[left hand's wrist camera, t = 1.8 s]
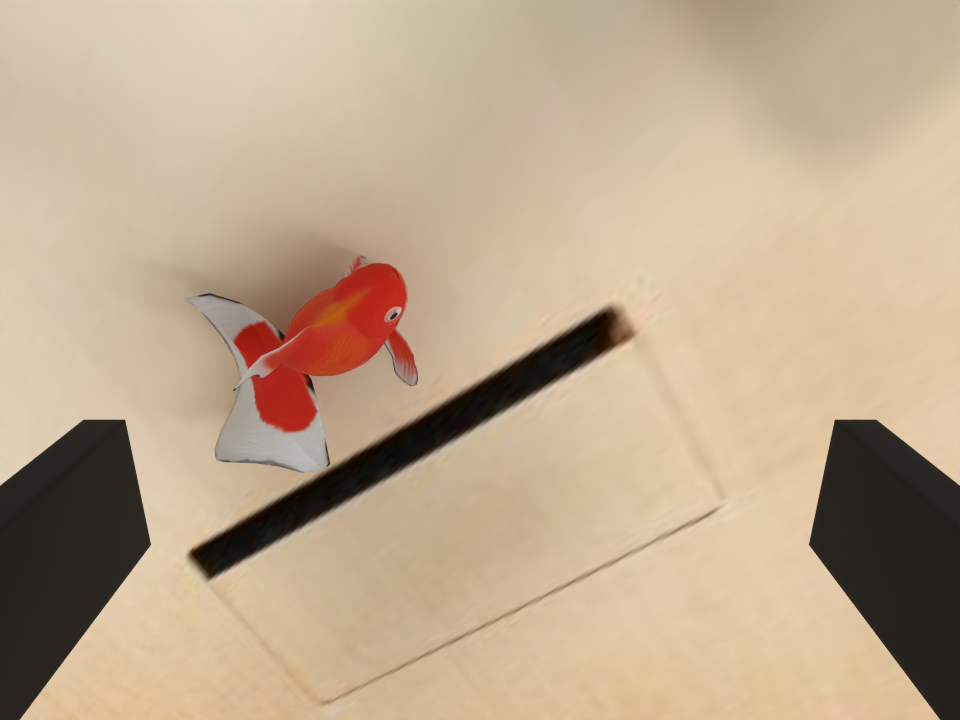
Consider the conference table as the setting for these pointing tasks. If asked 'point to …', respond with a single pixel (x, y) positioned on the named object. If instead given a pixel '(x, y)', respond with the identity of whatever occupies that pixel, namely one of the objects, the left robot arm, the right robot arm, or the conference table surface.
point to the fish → (304, 363)
